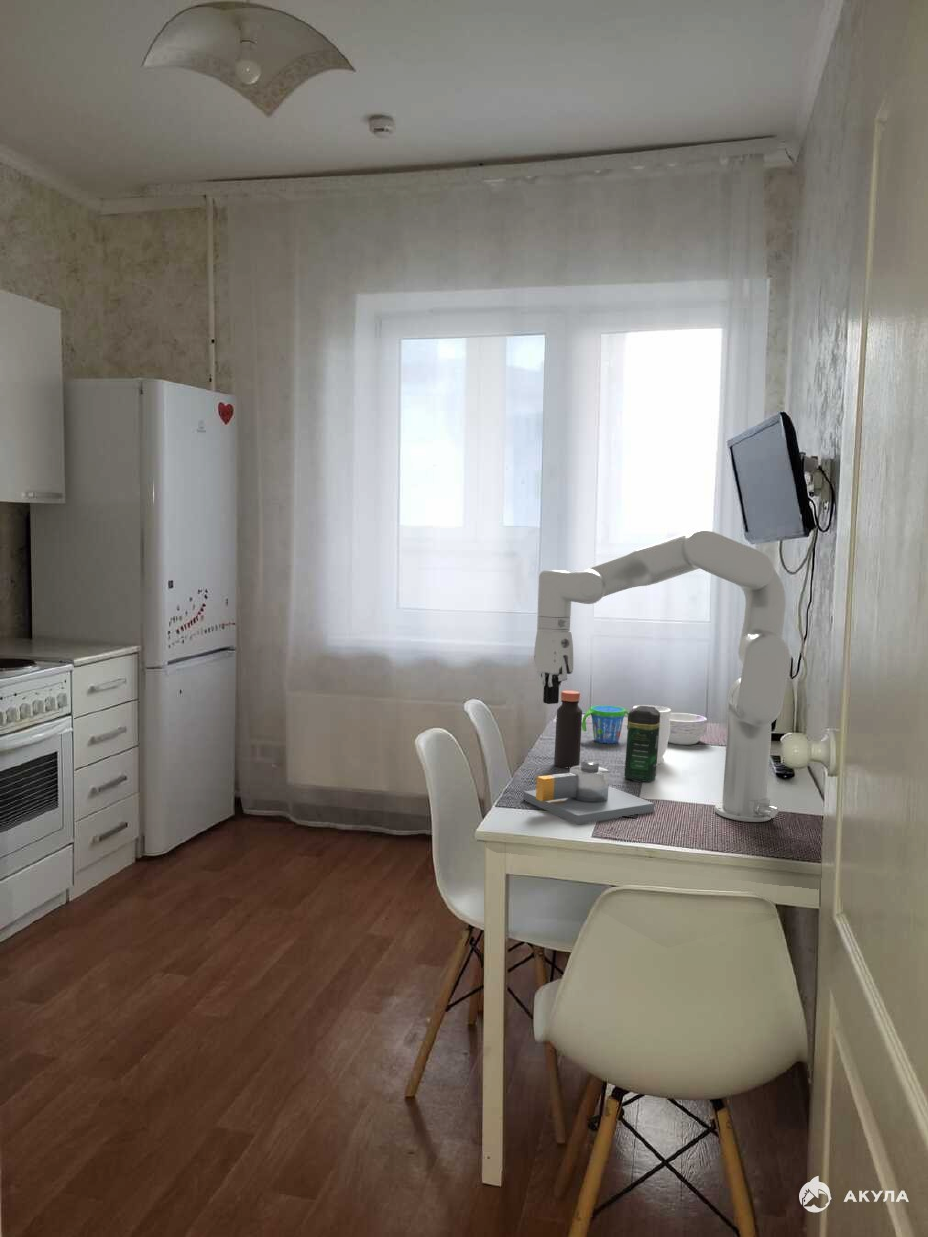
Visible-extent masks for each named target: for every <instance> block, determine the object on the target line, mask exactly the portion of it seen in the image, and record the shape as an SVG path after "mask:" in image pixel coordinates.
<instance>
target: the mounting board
mask: <svg viewBox="0 0 928 1237" xmlns="http://www.w3.org/2000/svg"><path fill="white" fill-rule="evenodd" d="M522 796H523V797H522V798H523V799H522V800H523V801H524V800H525V802H527V803H529V804H531V805H534V806H535V807H538V808H540V809H541V810H545V811H547V812H549V813H551V814H553V815H556V816H558V817H560V818H562V819H564V820H566V821H569V822H571V823H573V824H575V825H577V826H578V825H583V824H584V825H585V824H589V822H590V823H596V822H601V821H608V820H613V819H614V818H615V819H619V817H621V818H623V817H622V816H627V817H629V816H628V815H633V814H639V815H644V814H649V813H654V812H655V803H654V802H651V801H650V800H649V801H648V800H646V799H645V798H641V797H639V796H636V795H634V794H630V793H628V792H626V791H623V790H620V789H617V788H615V787H613V786H610V785H609V791H608V799H607V800H605V801H600V802H587V801H580V800H576V799H573V798H564V799H557V800H550V801H544V802H542V801H540V800H538V799H536V789H532V790H525V791H523V795H522ZM633 816H634V815H633Z"/></svg>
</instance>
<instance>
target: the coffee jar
mask: <svg viewBox="0 0 928 1237" xmlns="http://www.w3.org/2000/svg"><path fill="white" fill-rule="evenodd" d="M628 712H629V717H628V716H627V725H628V729H627V734H626V736H627V737H626V746H625V747H626V748H625V749H626V750H625V761H624V762H625V764H624V777H625V779H629V780H632V781H633V782H639V783H641V782H652V781H654V779H656V776H657V768H658V764H657V754H658V741H659V727H660V712H659V711H658V710H657V709H655V707H648V706H639V707H637V708H634V709H633V708H632V709H630V710H629V711H628Z"/></svg>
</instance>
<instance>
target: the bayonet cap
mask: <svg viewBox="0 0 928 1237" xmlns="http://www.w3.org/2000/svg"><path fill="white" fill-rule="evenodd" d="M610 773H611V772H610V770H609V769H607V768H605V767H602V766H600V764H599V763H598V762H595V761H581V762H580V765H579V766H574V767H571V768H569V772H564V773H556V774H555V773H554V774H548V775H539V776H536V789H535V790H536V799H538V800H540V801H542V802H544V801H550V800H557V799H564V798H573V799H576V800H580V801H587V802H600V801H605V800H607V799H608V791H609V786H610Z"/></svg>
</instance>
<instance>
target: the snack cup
mask: <svg viewBox="0 0 928 1237" xmlns="http://www.w3.org/2000/svg"><path fill="white" fill-rule="evenodd" d="M629 712H630V711H627V710H626V709H625V708H623V707H621V706H617V705H616V706H615V705H603V704H602V705H593V706H591V707H589V710H587V711H586V712H585V713H584V715H583V716H582V727H581V730H583V731H582V732H587V723H586V722H587V718H588V717H589V716H591V723H592V735H593V736H592V737H593V740H594V741H595V742H598V743H600V744H606V743H607V744H611V745H612V744H617V743H618V742H619V741H620V737H621V732H622V727H623V722H624V717H625V716H626V715H627V718H628V717H629ZM626 729H627V730H628V724H626Z"/></svg>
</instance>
